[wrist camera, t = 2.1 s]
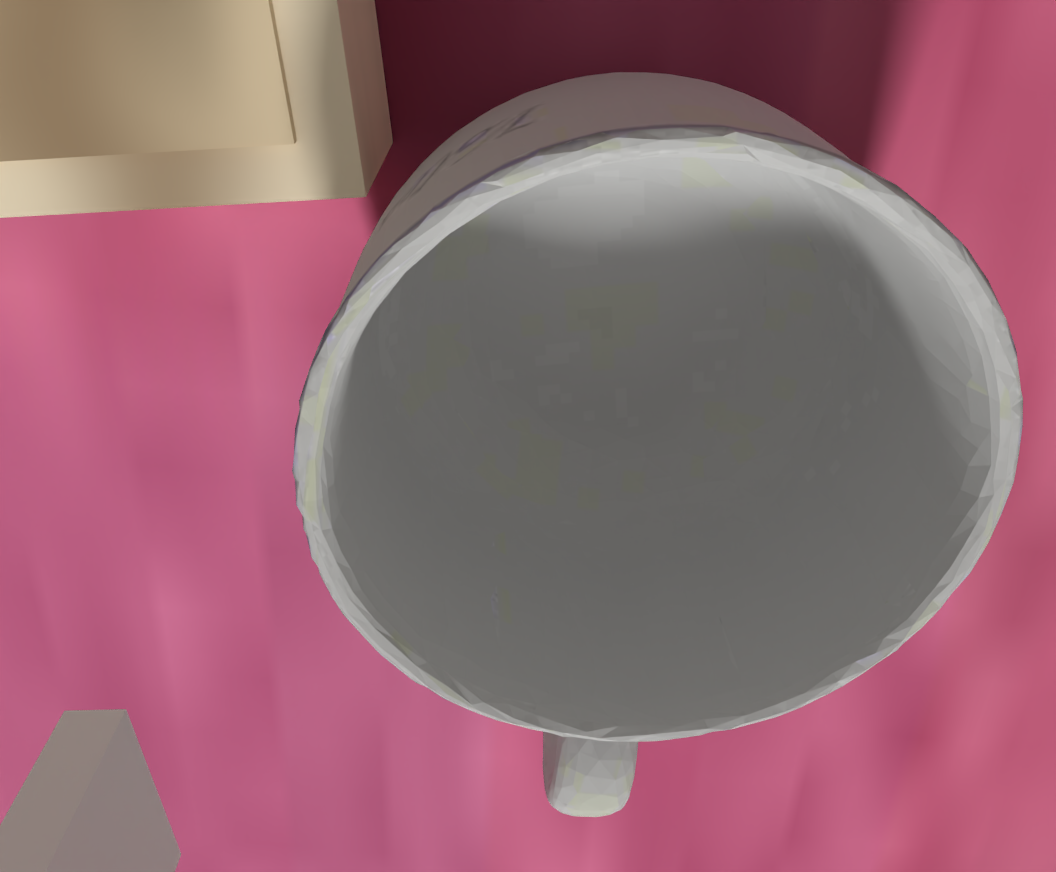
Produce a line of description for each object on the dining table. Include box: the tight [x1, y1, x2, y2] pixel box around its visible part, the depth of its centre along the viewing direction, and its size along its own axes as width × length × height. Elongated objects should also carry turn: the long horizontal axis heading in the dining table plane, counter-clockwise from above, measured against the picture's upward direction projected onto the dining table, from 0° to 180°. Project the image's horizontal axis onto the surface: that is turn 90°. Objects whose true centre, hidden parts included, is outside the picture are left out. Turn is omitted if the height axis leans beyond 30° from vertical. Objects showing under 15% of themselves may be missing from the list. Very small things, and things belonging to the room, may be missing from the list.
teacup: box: [292, 72, 1023, 817], centre depth 19 cm, size 14×11×8 cm
